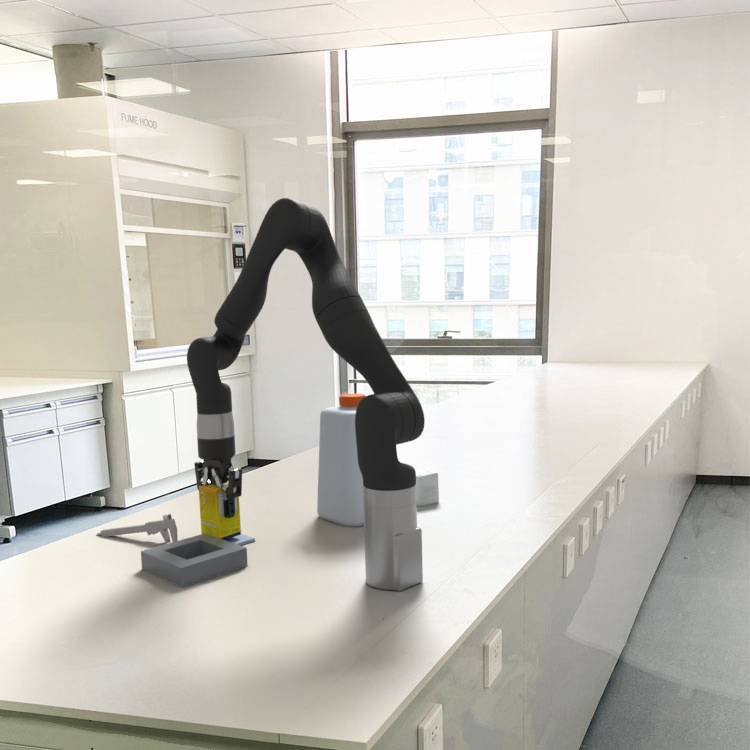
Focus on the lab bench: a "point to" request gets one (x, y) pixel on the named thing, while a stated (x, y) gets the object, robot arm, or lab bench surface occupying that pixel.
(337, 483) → the plastic bottle
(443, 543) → the lab bench surface
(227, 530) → the supplement box
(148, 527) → the caliper
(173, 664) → the lab bench surface
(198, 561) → the socket block
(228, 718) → the lab bench surface
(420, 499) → the skincare box
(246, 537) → the pad
